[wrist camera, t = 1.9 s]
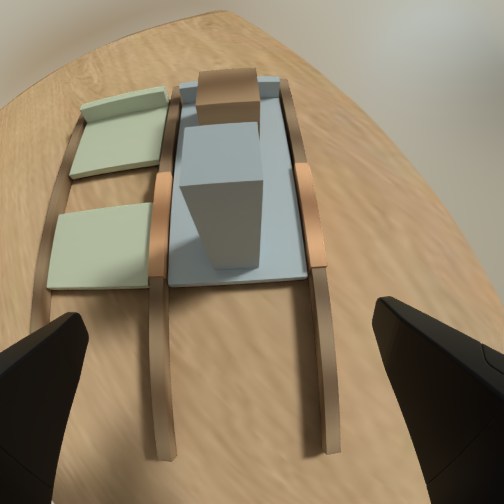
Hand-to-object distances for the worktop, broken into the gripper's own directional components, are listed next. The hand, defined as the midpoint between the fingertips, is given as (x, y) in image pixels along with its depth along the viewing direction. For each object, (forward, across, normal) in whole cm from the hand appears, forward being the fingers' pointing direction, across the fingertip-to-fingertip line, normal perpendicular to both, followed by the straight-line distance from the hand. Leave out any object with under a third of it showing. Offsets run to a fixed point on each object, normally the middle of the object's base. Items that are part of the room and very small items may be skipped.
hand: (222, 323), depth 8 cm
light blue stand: (+19, 0, -1) cm, 19 cm away
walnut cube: (+22, 0, -5) cm, 23 cm away
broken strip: (+19, +12, -1) cm, 22 cm away
